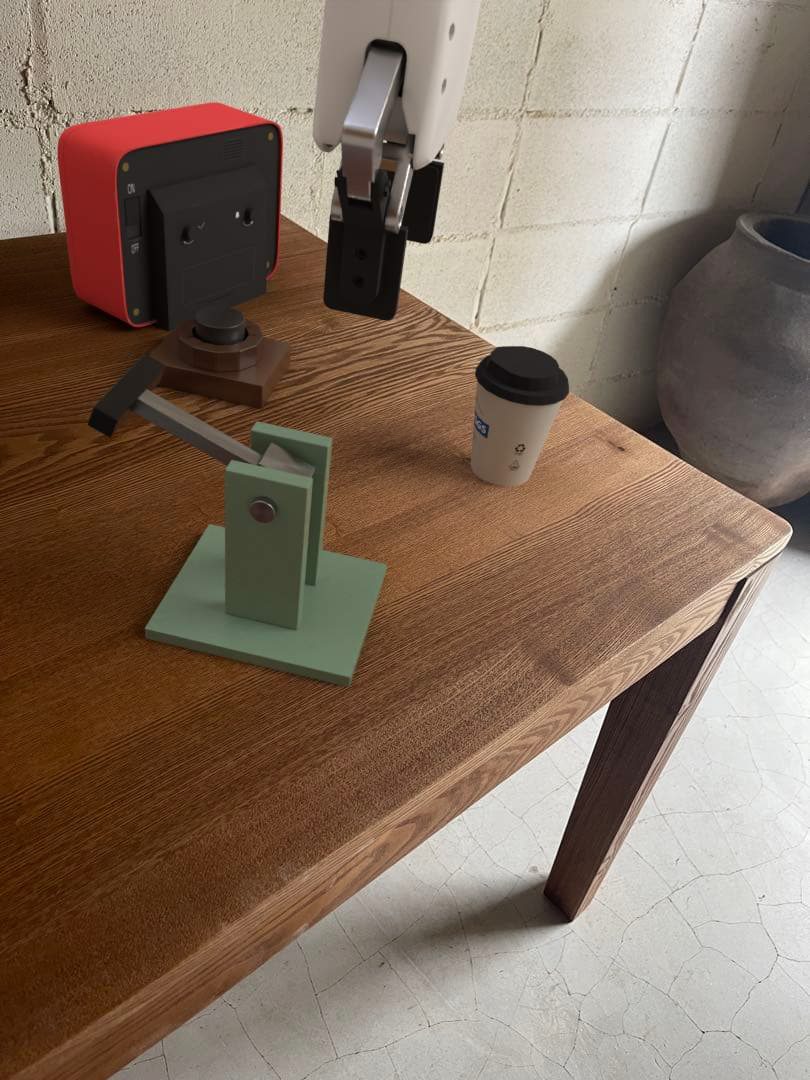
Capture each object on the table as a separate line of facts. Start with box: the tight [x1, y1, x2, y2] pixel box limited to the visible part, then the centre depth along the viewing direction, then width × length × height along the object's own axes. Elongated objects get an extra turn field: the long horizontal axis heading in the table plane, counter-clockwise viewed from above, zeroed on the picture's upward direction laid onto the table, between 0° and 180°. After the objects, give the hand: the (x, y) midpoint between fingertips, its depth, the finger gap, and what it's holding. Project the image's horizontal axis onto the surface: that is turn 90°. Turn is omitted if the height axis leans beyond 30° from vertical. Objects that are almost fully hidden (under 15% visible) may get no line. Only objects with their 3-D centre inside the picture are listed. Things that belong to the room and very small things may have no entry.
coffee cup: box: [470, 345, 570, 488], centre depth 64 cm, size 7×7×10 cm
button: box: [195, 306, 246, 346], centre depth 71 cm, size 4×4×2 cm
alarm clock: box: [56, 101, 284, 332], centre depth 79 cm, size 10×20×16 cm, turn 145°
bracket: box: [144, 421, 388, 688], centre depth 49 cm, size 12×10×12 cm
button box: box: [148, 316, 292, 410], centre depth 73 cm, size 10×8×4 cm
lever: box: [86, 353, 316, 478], centre depth 46 cm, size 11×6×2 cm, turn 79°
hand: (382, 271), depth 41 cm, fingers open, 9 cm apart
